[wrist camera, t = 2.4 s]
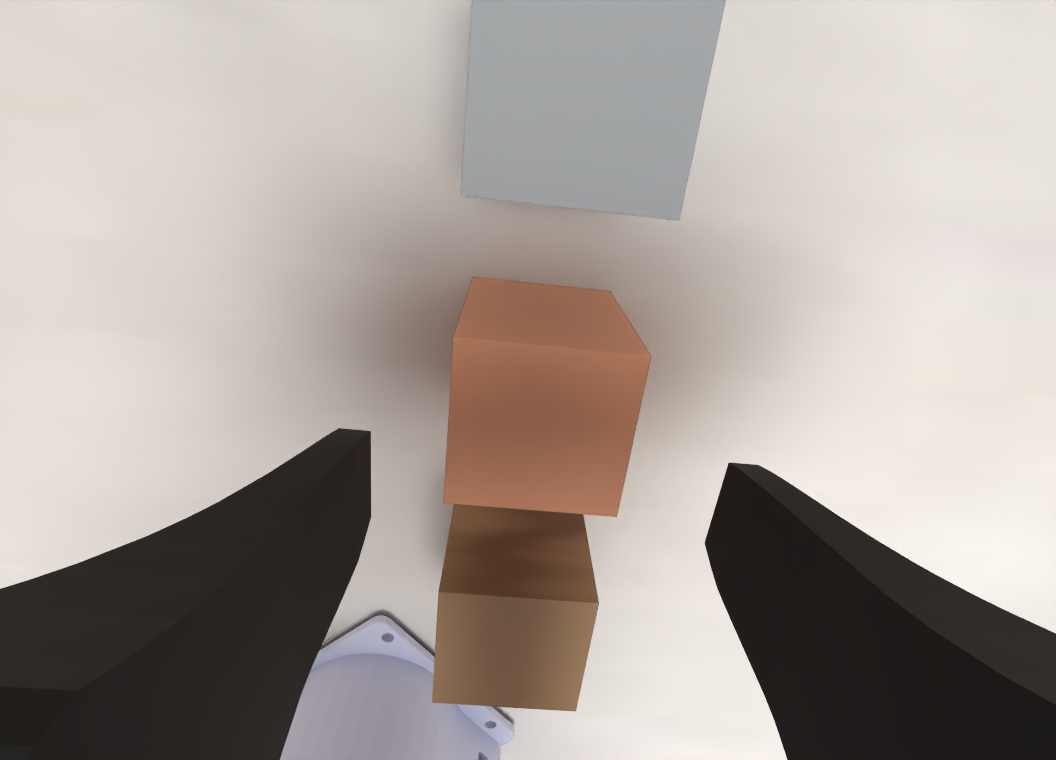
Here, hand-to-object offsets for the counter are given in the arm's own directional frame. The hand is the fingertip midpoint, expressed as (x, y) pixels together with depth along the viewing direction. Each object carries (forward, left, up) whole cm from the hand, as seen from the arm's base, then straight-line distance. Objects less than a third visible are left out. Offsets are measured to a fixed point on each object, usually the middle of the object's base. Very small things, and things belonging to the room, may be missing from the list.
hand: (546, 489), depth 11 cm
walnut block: (-6, +5, -8) cm, 11 cm away
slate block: (+5, -5, -8) cm, 11 cm away
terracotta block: (0, 0, -8) cm, 8 cm away
